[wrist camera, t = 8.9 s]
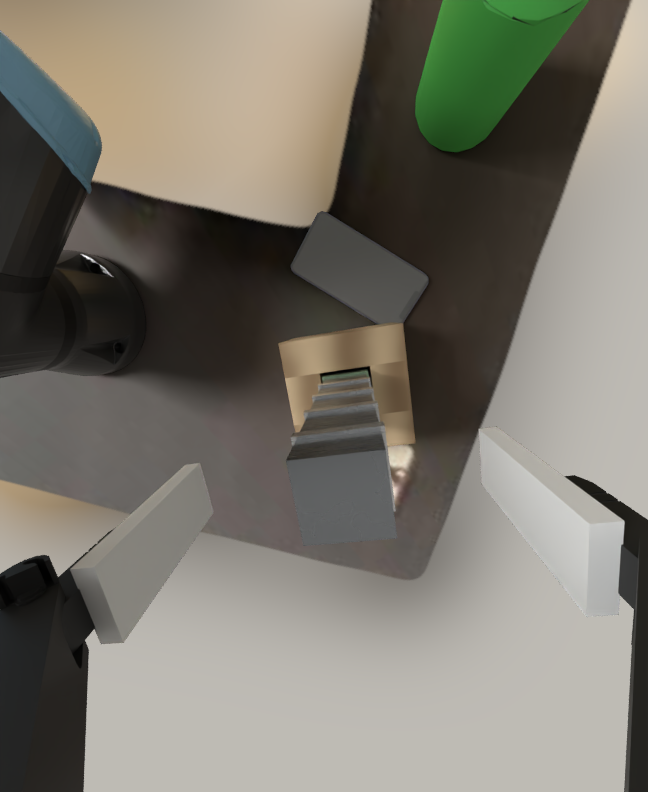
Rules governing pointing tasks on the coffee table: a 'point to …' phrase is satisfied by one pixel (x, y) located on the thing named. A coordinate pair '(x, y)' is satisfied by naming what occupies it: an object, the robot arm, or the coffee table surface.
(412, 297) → the smartphone
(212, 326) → the coffee table surface
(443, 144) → the bottle
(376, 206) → the coffee table surface
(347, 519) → the column
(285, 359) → the housing
